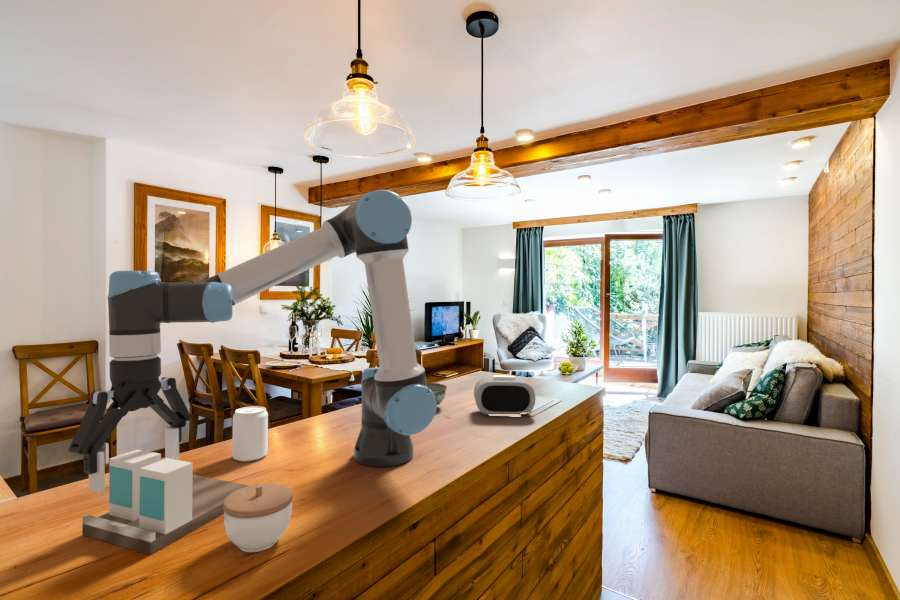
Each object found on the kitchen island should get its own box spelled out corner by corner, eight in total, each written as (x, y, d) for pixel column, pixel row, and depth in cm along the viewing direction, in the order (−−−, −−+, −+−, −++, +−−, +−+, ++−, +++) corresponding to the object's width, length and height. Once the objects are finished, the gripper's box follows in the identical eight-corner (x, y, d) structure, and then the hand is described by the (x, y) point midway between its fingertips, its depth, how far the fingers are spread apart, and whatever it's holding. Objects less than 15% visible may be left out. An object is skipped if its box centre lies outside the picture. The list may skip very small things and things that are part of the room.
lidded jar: (237, 526, 80) (238, 474, 80) (299, 524, 81) (299, 473, 81) (210, 562, 69) (211, 502, 69) (282, 560, 70) (282, 500, 70)
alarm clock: (475, 417, 153) (476, 378, 153) (473, 410, 162) (474, 373, 162) (535, 418, 153) (536, 379, 153) (530, 411, 163) (530, 374, 162)
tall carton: (137, 502, 84) (137, 449, 84) (160, 508, 82) (161, 453, 82) (107, 515, 79) (108, 459, 79) (131, 521, 77) (132, 463, 77)
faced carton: (166, 513, 80) (167, 458, 80) (192, 520, 78) (192, 462, 78) (137, 528, 75) (138, 468, 75) (164, 535, 73) (164, 474, 73)
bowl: (405, 411, 159) (405, 388, 159) (414, 402, 173) (414, 381, 173) (442, 413, 157) (443, 390, 157) (449, 404, 170) (449, 383, 170)
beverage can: (254, 464, 108) (254, 415, 108) (225, 461, 110) (225, 412, 110) (273, 452, 116) (274, 406, 116) (246, 450, 118) (246, 404, 118)
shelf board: (254, 496, 91) (254, 480, 91) (150, 555, 71) (150, 534, 71) (194, 484, 97) (194, 469, 97) (82, 535, 76) (82, 516, 76)
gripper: (182, 347, 93) (183, 449, 93) (38, 367, 69) (41, 502, 70) (210, 349, 90) (211, 453, 91) (70, 370, 67) (73, 510, 67)
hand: (137, 475), depth 80 cm, fingers open, 13 cm apart
